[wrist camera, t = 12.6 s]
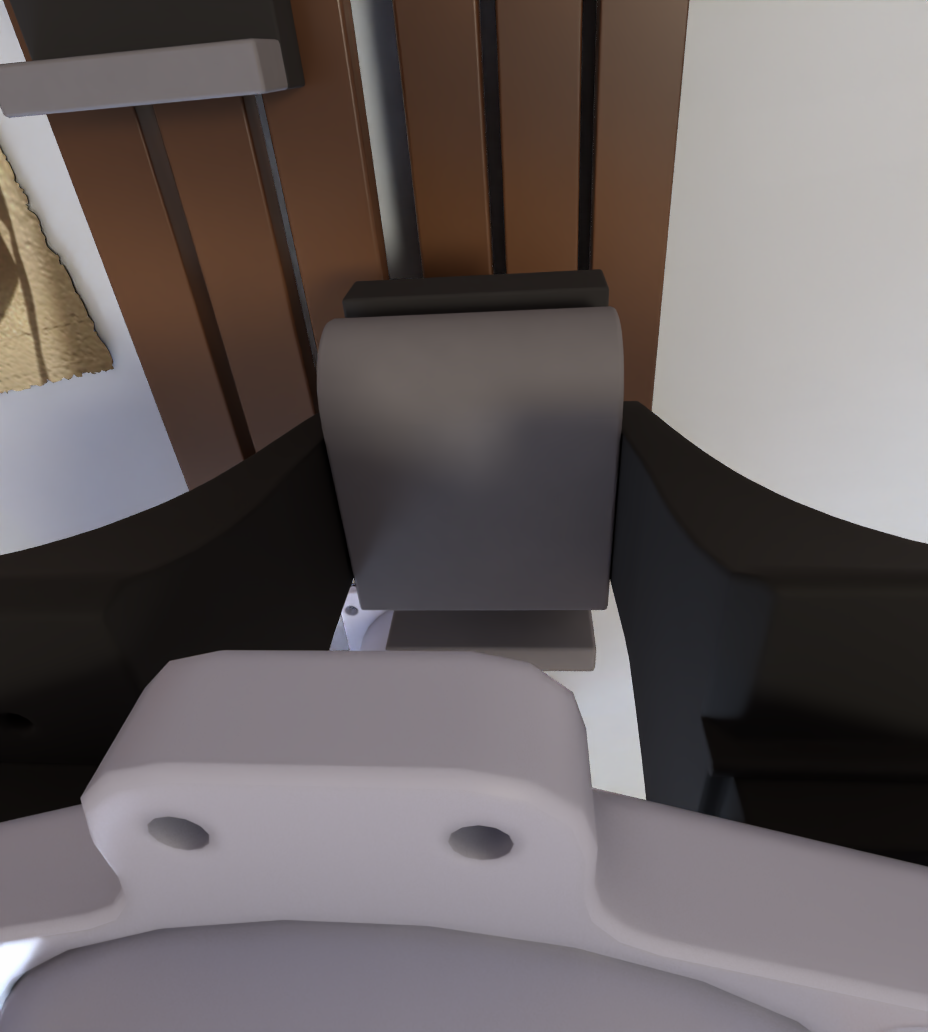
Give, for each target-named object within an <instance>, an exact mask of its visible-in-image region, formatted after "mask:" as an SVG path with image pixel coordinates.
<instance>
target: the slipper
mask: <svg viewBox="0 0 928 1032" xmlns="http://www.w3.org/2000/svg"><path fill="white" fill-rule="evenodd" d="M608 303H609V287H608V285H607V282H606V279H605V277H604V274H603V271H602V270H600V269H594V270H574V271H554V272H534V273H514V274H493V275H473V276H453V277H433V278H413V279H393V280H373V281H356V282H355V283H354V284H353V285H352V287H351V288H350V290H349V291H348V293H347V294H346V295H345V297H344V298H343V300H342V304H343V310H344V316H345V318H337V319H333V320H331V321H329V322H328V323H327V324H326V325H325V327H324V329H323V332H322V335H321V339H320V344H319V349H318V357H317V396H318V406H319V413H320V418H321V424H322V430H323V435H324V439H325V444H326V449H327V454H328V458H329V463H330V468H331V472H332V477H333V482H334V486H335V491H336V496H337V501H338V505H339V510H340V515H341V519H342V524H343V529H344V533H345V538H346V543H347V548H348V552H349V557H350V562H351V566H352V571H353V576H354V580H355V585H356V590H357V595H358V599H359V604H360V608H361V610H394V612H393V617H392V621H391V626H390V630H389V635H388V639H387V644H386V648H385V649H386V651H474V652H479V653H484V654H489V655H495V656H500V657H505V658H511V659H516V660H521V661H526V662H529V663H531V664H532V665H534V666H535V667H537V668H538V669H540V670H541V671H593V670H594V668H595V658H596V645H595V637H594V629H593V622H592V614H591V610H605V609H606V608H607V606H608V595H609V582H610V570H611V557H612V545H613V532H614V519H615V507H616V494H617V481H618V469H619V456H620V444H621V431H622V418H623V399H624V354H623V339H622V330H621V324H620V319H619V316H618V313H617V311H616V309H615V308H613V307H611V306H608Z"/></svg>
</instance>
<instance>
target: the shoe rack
mask: <svg viewBox="0 0 928 1032" xmlns="http://www.w3.org/2000/svg"><path fill="white" fill-rule="evenodd" d="M3 1H4V4H5V7H6V9H7V12H8V14H9V17H10V20H11V22H12V25H13V28H14V30H15V33H16V36H17V38H18V41H19V43H20V46H21V49H22V51H23V54H24V57H25V59H26V62H27V61H32V59H31V56H30V54H29V51H28V48H27V46H26V43H25V40H24V38H23V35H22V32H21V30H20V27H19V24H18V22H17V19H16V16H15V14H14V11H13V8H12V6H11V3H10V0H3ZM290 2H291V8H292V13H293V19H294V24H295V30H296V35H297V41H298V46H299V52H300V57H301V63H302V68H303V74H304V79H305V86H303V87H299V88H293V89H287V90H281V91H276V92H270V93H264V94H262V98H263V103H264V107H265V112H266V117H267V121H268V126H269V130H270V135H271V140H272V144H273V149H274V154H275V158H276V163H277V168H278V172H279V177H280V181H281V186H282V191H283V195H284V200H285V205H286V209H287V214H288V218H289V223H290V228H291V232H292V237H293V242H294V246H295V251H296V256H297V260H298V265H299V269H300V274H301V279H302V283H303V288H304V293H305V297H306V302H307V306H308V311H309V316H310V320H311V325H312V330H313V334H314V339H315V344H316V348H317V353H318V349H319V344H320V339H321V335H322V332H323V329H324V327H325V325H326V324H327V323H328V322H329V321H331V320H333V319H337V318H345V316H344V310H343V304H342V300H343V298H344V297H345V295H346V294H347V293H348V291H349V290H350V288H351V287H352V285H353V284H354V283H355V282H356V281H373V280H390V279H389V272H388V265H387V258H386V251H385V244H384V237H383V230H382V222H381V215H380V208H379V201H378V194H377V187H376V180H375V173H374V166H373V159H372V152H371V145H370V137H369V130H368V123H367V116H366V109H365V102H364V95H363V88H362V81H361V74H360V67H359V60H358V52H357V45H356V38H355V31H354V24H353V17H352V10H351V3H350V0H290ZM392 5H393V14H394V23H395V32H396V41H397V50H398V59H399V68H400V77H401V85H402V94H403V103H404V112H405V121H406V130H407V139H408V148H409V157H410V166H411V174H412V183H413V192H414V201H415V210H416V219H417V228H418V237H419V246H420V254H421V263H422V272H423V278H433V277H453V276H473V275H493V274H494V269H493V250H492V231H491V212H490V193H489V174H488V155H487V136H486V116H485V97H484V78H483V59H482V40H481V21H480V2H479V0H392ZM688 10H689V0H597V11H596V46H595V81H594V116H593V152H592V187H591V222H590V257H589V270H594V269H600V270H602V271H603V274H604V277H605V279H606V282H607V285H608V287H609V303H608V306H611V307H613V308H615V309H616V311H617V313H618V316H619V319H620V324H621V330H622V339H623V354H624V399H623V401H638V402H640V403H641V404H643V405H644V406H645V407H647V408H648V409H649V410H650V411H652V401H653V390H654V379H655V368H656V357H657V347H658V336H659V325H660V314H661V303H662V292H663V281H664V270H665V260H666V249H667V238H668V227H669V216H670V205H671V194H672V183H673V173H674V162H675V151H676V140H677V129H678V118H679V107H680V96H681V86H682V75H683V64H684V53H685V42H686V31H687V20H688ZM582 12H583V0H495V14H496V38H497V62H498V86H499V110H500V134H501V158H502V182H503V206H504V230H505V254H506V274H514V273H534V272H554V271H574V270H578V226H579V173H580V119H581V66H582ZM46 115H47V117H48V120H49V122H50V125H51V128H52V130H53V133H54V136H55V138H56V141H57V144H58V146H59V149H60V151H61V154H62V157H63V159H64V162H65V165H66V167H67V170H68V172H69V175H70V178H71V180H72V183H73V186H74V188H75V191H76V194H77V196H78V199H79V201H80V204H81V207H82V209H83V212H84V215H85V217H86V220H87V223H88V225H89V228H90V230H91V233H92V236H93V238H94V241H95V244H96V246H97V249H98V252H99V254H100V257H101V259H102V262H103V265H104V267H105V270H106V273H107V275H108V278H109V280H110V283H111V286H112V288H113V291H114V294H115V296H116V299H117V302H118V304H119V307H120V309H121V312H122V315H123V317H124V320H125V323H126V325H127V328H128V331H129V333H130V336H131V338H132V341H133V344H134V346H135V349H136V352H137V354H138V357H139V360H140V362H141V365H142V367H143V370H144V373H145V375H146V378H147V381H148V383H149V386H150V388H151V391H152V394H153V396H154V399H155V402H156V404H157V407H158V410H159V412H160V415H161V417H162V420H163V423H164V425H165V428H166V431H167V433H168V436H169V439H170V441H171V444H172V446H173V449H174V452H175V454H176V457H177V460H178V462H179V465H180V467H181V470H182V473H183V475H184V478H185V481H186V483H187V486H188V489H189V491H190V490H193V489H194V488H196V487H198V486H200V485H202V484H204V483H206V482H208V481H210V480H212V479H213V478H215V477H217V476H219V475H220V474H222V473H224V472H225V471H227V470H229V469H230V468H232V467H234V466H235V465H237V464H239V463H240V462H242V461H244V460H245V459H247V458H249V457H250V456H252V455H254V454H255V453H257V452H258V451H260V450H261V449H263V448H264V447H266V446H267V445H269V444H270V443H272V442H273V441H275V440H276V439H278V438H279V437H281V436H282V435H284V434H285V433H287V432H288V431H290V430H291V429H293V428H294V427H296V426H297V425H299V424H300V423H302V422H304V421H305V420H307V419H308V418H310V417H312V416H313V415H315V414H317V413H319V406H318V396H317V374H316V369H315V365H314V360H313V356H312V351H311V347H310V342H309V338H308V333H307V329H306V324H305V320H304V315H303V311H302V306H301V302H300V297H299V293H298V288H297V283H296V279H295V274H294V270H293V265H292V261H291V256H290V252H289V247H288V243H287V238H286V234H285V229H284V225H283V220H282V216H281V211H280V207H279V202H278V198H277V193H276V188H275V184H274V179H273V175H272V170H271V166H270V161H269V157H268V152H267V148H266V143H265V139H264V134H263V130H262V125H261V121H260V116H259V112H258V107H257V103H256V98H255V95H244V96H233V97H223V98H212V99H202V100H191V101H181V102H170V103H159V104H149V105H138V106H128V107H117V108H106V109H96V110H85V111H75V112H64V113H53V114H46Z"/></svg>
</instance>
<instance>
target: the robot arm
mask: <svg viewBox="0 0 928 1032" xmlns="http://www.w3.org/2000/svg"><path fill="white" fill-rule="evenodd" d="M353 578H354V576H353V571H352V566H351V562H350V557H349V552H348V548H347V543H346V538H345V533H344V529H343V524H342V519H341V515H340V510H339V505H338V501H337V496H336V491H335V486H334V482H333V477H332V472H331V468H330V463H329V458H328V454H327V449H326V444H325V439H324V435H323V430H322V424H321V418H320V413H317V414H315V415H313V416H312V417H310V418H308V419H307V420H305V421H304V422H302V423H300V424H299V425H297V426H296V427H294V428H293V429H291V430H290V431H288V432H287V433H285V434H284V435H282V436H281V437H279V438H278V439H276V440H275V441H273V442H272V443H270V444H269V445H267V446H266V447H264V448H263V449H261V450H260V451H258V452H257V453H255V454H254V455H252V456H250V457H249V458H247V459H245V460H244V461H242V462H240V463H239V464H237V465H235V466H234V467H232V468H230V469H229V470H227V471H225V472H224V473H222V474H220V475H219V476H217V477H215V478H213V479H212V480H210V481H208V482H206V483H204V484H202V485H200V486H198V487H196V488H194V489H193V490H190V491H188V492H186V493H184V494H182V495H180V496H178V497H176V498H174V499H171V500H169V501H167V502H165V503H163V504H160V505H158V506H156V507H153V508H151V509H148V510H145V511H143V512H140V513H138V514H135V515H132V516H130V517H127V518H125V519H122V520H119V521H117V522H114V523H112V524H109V525H106V526H104V527H101V528H98V529H95V530H91V531H88V532H85V533H82V534H79V535H76V536H73V537H69V538H66V539H62V540H59V541H55V542H52V543H48V544H45V545H41V546H37V547H34V548H30V549H26V550H22V551H18V552H13V553H9V554H4V555H0V1032H928V544H926V543H921V542H917V541H912V540H909V539H905V538H901V537H898V536H894V535H891V534H887V533H884V532H880V531H877V530H873V529H870V528H867V527H863V526H860V525H857V524H854V523H851V522H848V521H845V520H842V519H839V518H836V517H833V516H830V515H828V514H825V513H823V512H820V511H818V510H815V509H813V508H810V507H807V506H805V505H802V504H800V503H797V502H795V501H793V500H790V499H788V498H786V497H784V496H781V495H779V494H777V493H775V492H773V491H771V490H769V489H767V488H765V487H763V486H761V485H759V484H757V483H755V482H753V481H751V480H749V479H747V478H746V477H744V476H742V475H740V474H739V473H737V472H735V471H733V470H732V469H730V468H728V467H727V466H725V465H724V464H722V463H721V462H719V461H718V460H716V459H714V458H713V457H711V456H710V455H708V454H707V453H705V452H704V451H702V450H701V449H700V448H698V447H697V446H695V445H694V444H693V443H691V442H690V441H688V440H687V439H686V438H684V437H683V436H682V435H681V434H679V433H678V432H677V431H675V430H674V429H673V428H672V427H670V426H669V425H668V424H667V423H665V422H664V421H663V420H662V419H660V418H659V417H658V416H657V415H655V414H654V413H653V412H652V411H650V410H649V409H648V408H647V407H645V406H644V405H643V404H641V403H640V402H638V401H623V418H622V431H621V444H620V456H619V469H618V481H617V494H616V507H615V519H614V532H613V545H612V557H611V570H610V581H611V585H612V589H613V593H614V597H615V600H616V604H617V608H618V612H619V616H620V620H621V624H622V628H623V632H624V636H625V641H626V645H627V650H628V655H629V661H630V669H631V676H632V684H633V691H634V699H635V706H636V714H637V723H638V731H639V739H640V747H641V756H642V764H643V774H644V783H645V792H646V800H643V799H639V798H634V797H630V796H626V795H622V794H617V793H613V792H609V791H605V790H600V789H596V788H592V784H591V774H590V764H589V754H588V743H587V733H586V727H585V724H584V722H583V719H582V716H581V713H580V711H579V708H578V705H577V703H576V700H575V697H574V694H573V692H572V691H570V690H569V689H567V688H566V687H564V686H563V685H562V684H560V683H559V682H557V681H556V680H554V679H553V678H551V677H550V676H548V675H547V674H545V673H544V672H543V671H541V670H540V669H538V668H537V667H535V666H534V665H532V664H531V663H529V662H526V661H521V660H516V659H511V658H505V657H500V656H495V655H489V654H484V653H479V652H474V651H386V649H385V648H386V644H387V639H388V635H389V630H390V626H391V621H392V617H393V612H394V610H361V608H360V604H359V599H358V595H357V590H356V586H351V584H352V581H353ZM349 606H354V607H355V608H357V609H353V608H350V607H349ZM340 615H341V617H342V621H343V624H344V628H345V632H346V636H347V640H348V644H349V648H350V651H329V648H330V645H331V642H332V638H333V635H334V632H335V629H336V627H337V624H338V621H339V618H340Z"/></svg>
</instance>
